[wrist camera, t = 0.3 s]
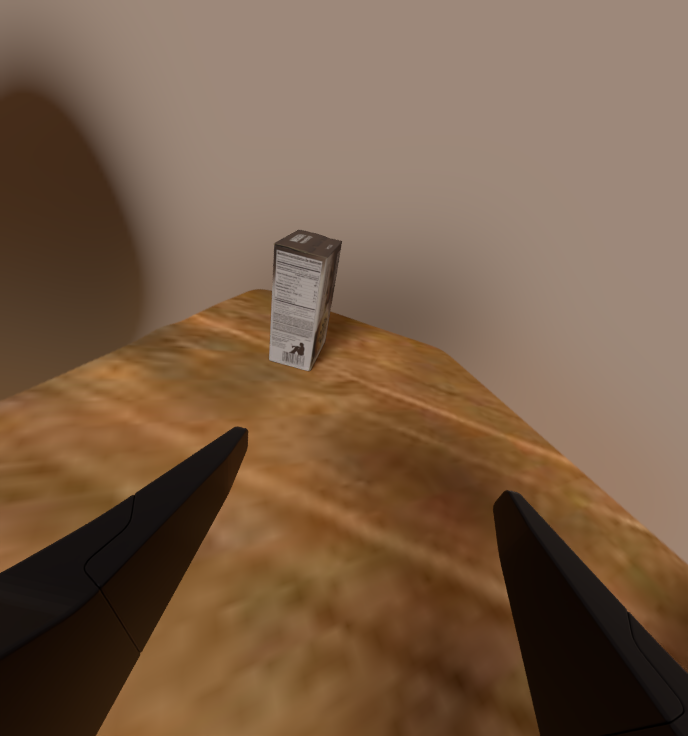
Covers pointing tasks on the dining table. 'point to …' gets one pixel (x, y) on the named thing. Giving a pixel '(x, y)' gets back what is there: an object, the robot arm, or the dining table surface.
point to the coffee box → (302, 297)
